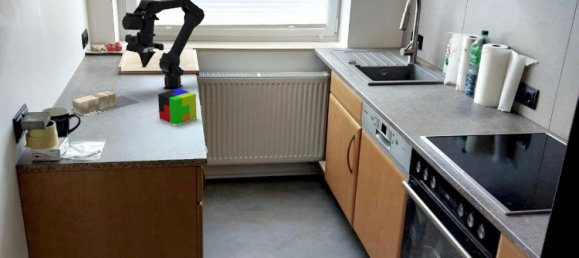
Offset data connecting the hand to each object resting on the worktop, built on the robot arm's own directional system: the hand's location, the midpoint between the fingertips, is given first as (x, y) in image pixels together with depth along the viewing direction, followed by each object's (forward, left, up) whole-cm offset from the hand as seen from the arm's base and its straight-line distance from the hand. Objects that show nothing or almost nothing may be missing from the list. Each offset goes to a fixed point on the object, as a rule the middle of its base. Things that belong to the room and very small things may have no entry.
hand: (144, 67), depth 226 cm
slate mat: (+7, +20, -12) cm, 24 cm away
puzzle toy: (-26, +21, -12) cm, 35 cm away
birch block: (+5, +17, -9) cm, 20 cm away
